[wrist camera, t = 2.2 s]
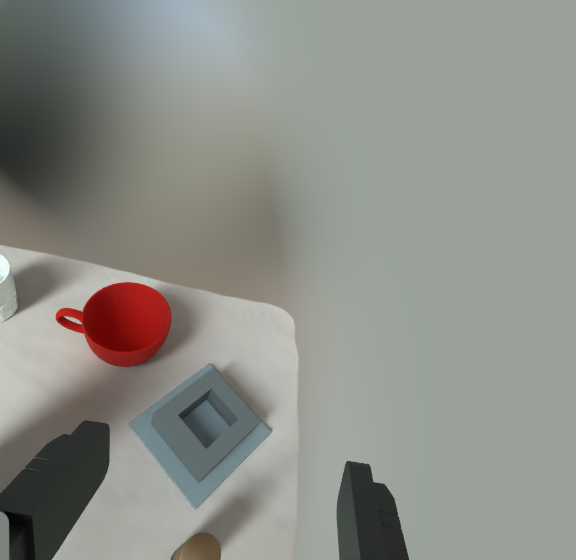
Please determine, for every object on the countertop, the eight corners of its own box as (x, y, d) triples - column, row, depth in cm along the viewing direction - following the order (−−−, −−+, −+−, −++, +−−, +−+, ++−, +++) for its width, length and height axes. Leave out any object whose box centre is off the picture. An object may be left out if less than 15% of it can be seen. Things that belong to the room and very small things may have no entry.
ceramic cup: (73, 306, 69) (67, 271, 62) (171, 319, 74) (176, 288, 67) (48, 374, 61) (38, 344, 54) (160, 384, 66) (164, 357, 59)
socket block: (195, 509, 57) (201, 502, 52) (129, 425, 61) (129, 411, 56) (269, 433, 67) (280, 422, 62) (208, 365, 71) (214, 350, 66)
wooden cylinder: (182, 590, 51) (199, 589, 40) (163, 564, 52) (174, 555, 41) (205, 563, 53) (228, 554, 42) (187, 538, 54) (204, 523, 43)
